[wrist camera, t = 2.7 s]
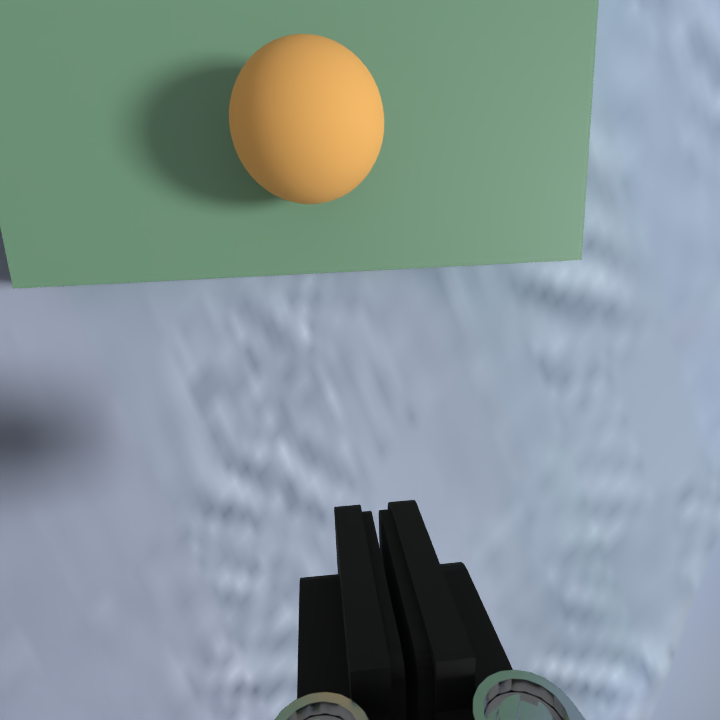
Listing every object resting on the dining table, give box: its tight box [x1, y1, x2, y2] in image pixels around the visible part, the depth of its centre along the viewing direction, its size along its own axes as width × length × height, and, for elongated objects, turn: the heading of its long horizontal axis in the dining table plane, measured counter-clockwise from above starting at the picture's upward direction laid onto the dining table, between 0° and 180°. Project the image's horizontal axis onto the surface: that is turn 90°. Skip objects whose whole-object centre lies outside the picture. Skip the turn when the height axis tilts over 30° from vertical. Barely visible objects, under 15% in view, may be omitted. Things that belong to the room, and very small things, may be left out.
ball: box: [229, 34, 384, 204], centre depth 13 cm, size 4×4×4 cm
